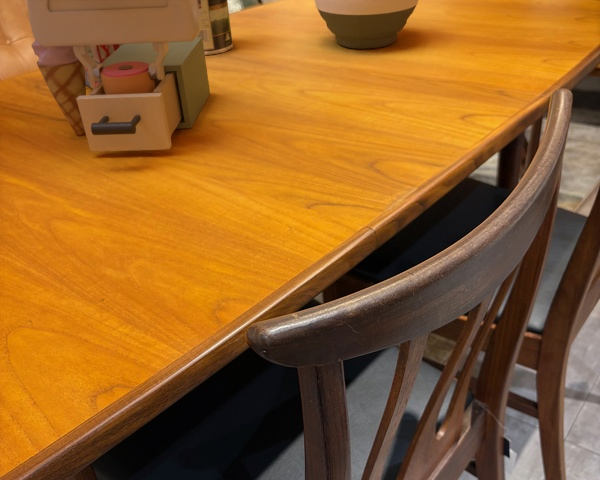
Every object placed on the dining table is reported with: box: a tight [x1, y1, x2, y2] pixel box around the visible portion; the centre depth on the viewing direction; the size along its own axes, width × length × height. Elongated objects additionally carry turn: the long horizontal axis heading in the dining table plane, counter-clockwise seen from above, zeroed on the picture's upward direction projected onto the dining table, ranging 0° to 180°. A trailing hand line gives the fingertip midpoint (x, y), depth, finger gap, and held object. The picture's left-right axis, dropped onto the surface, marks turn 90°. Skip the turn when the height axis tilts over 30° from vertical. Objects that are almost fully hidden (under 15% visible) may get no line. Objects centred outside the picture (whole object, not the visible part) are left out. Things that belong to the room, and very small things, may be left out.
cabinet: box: [99, 37, 211, 130], centre depth 89 cm, size 15×12×9 cm
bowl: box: [314, 0, 419, 50], centre depth 114 cm, size 20×20×10 cm
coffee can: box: [197, 0, 234, 56], centre depth 116 cm, size 10×10×14 cm
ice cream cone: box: [31, 39, 87, 136], centre depth 82 cm, size 7×6×15 cm
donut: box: [100, 61, 156, 95], centre depth 78 cm, size 6×6×3 cm
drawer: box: [76, 71, 183, 152], centre depth 79 cm, size 18×10×7 cm, turn 176°
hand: (128, 79), depth 78 cm, fingers closed on donut, 6 cm apart
